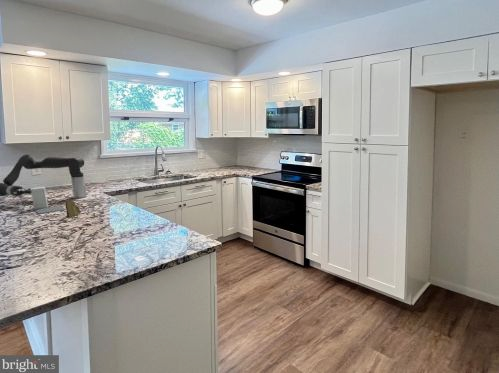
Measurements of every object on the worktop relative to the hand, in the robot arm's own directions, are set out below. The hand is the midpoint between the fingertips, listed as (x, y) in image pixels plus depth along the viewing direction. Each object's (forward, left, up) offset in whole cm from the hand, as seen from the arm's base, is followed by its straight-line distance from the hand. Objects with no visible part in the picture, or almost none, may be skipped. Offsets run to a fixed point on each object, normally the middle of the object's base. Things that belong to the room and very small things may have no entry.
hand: (30, 192), depth 244 cm
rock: (-16, +49, -11) cm, 52 cm away
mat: (-7, +22, -11) cm, 25 cm away
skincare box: (-4, +9, -11) cm, 15 cm away
